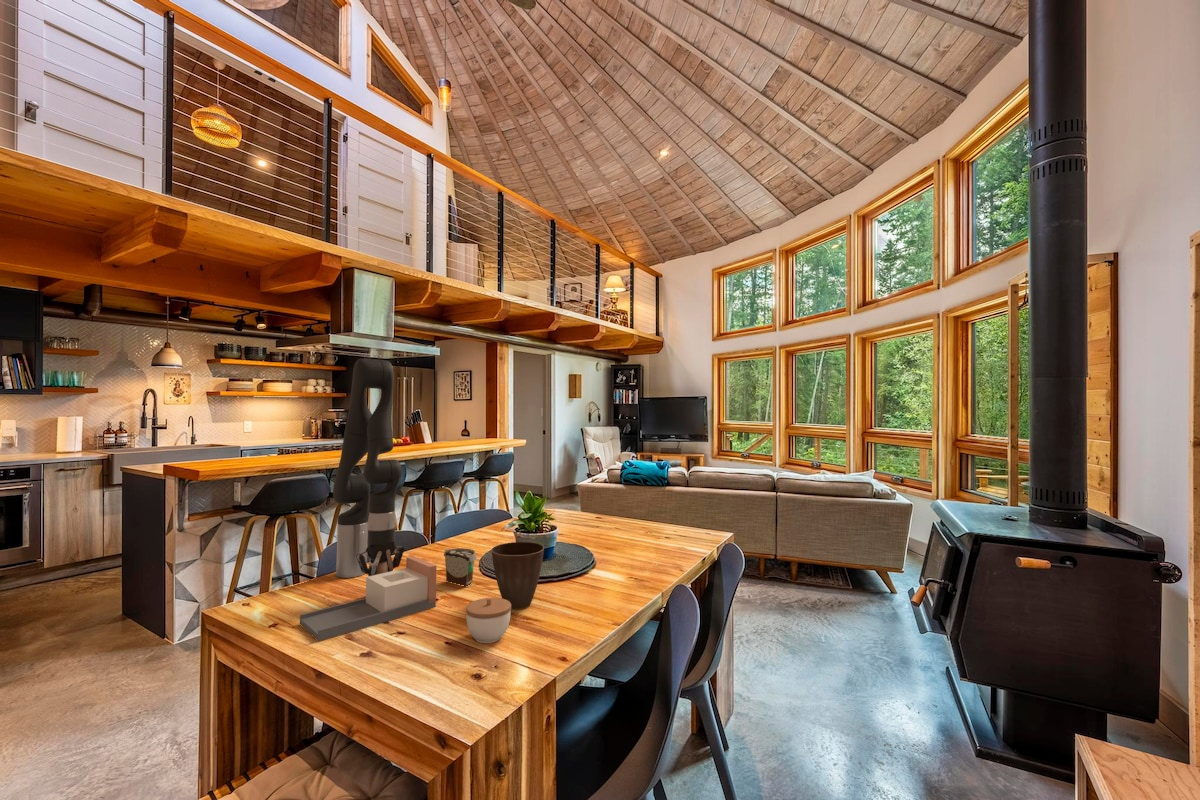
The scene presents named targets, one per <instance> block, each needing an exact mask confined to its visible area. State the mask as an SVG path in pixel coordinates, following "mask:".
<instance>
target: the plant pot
mask: <svg viewBox="0 0 1200 800" xmlns="http://www.w3.org/2000/svg"><path fill="white" fill-rule="evenodd" d="M544 552H545V546H544V545H542V544H540V543H537V542H530V541H514V542H513V541H512V542H506V543H501V544H498V545H495V546H493V547H492V548H491V559H492V564H493V570H494V571H493V572H494V574H495V579H496V583H497V588H498V590H499V591H498V592H499V594H500V596H501V599H505V600H508V601H509V602H510V603H511V610H522V608H523V609H526V608H528V607H530V606H531V605H532V602H533V600H534V599H533V598H534V596H535V593H536V591H537V588H538V583H539V580H540V576H541V571H542V565H543V558H544Z"/></svg>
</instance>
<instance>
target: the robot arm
mask: <svg viewBox="0 0 1200 800" xmlns="http://www.w3.org/2000/svg"><path fill="white" fill-rule="evenodd" d="M352 370H353V371H352V382H351V390H350V391H351V392H350V401H349V406H348V407H349V408H348V413H347V418H346V423H345V427H344V433H343V440H342V448H341V454H340V460H339V463H338V467H337V471H336V475H335V478H334V481H333V482H334V483H333V488H332V497H333V499H334V502H335V503H336V504H351V503H353V504H354V503H355V504H354V505H353V506H352V507H351V508H350V509H348V510H346V511H344V512H342V513H340V514H339V515H338V516H337V527H336V528H337V531H336V534H337V535H336V565H335V567H336V568H335V570H336V571H335V576H336V577H338V578H346V579H348V578H357V577H360V576H363V575H368V576H373V575H376V574H375V571H376V567H377V566H378V563H379V562H381V561H388V572H391V571H394V570H395V569H396V568H399V567H400V565H401V561H402V558H403V555H404V552H405V547H403V546H401V545H398V546H397V545H396V543H395V541H396V524H397V523H396V514H395V513H396V512H395V511H396V509H395V505H396V494H397V490H398V487H399V484H400V481H401V478H402V474H403V467H402V464H401V462H400V461H399V460H398V459H378V457H379V456H380V455H383V454H387V453H390V452H391V451H393V449H394V437H393V427H392V422H393V421H392V415H393V414H392V413H393V412H392V411H393V400H394V399H393V397H394V382H395V381H394V379H395V376H394V374H395V373H394V368H393V365H392V363H391V362H390V361H389V360H385V359H375V358H374V359H373V358H372V359H371V358H358V359H357V360H356V361H355V363H354V366H353V369H352ZM366 389H378V390H380V400H379V402H378V404H377V405H376V408H375V410H374V411H373V413H372V412H371V410H370V408H369V405H368V404H367V402H366V399H365V392H366ZM365 456H366V458H365V459H366V460H365V464H364V467H363V473H362V474H352V473H353V470H354V469H355V467H356V466H357V465H358V463H359V462H360V461H361V460H362V459H363V458H364V457H365ZM380 484H382V485H383V484H385V486H384V488H382V489H381V490H376V491H374V492H372V493H371V485H380ZM393 554H394V555H393ZM392 555H393V557H392ZM368 557H369V560H368ZM392 558H393V559H392ZM368 561H369V562H368ZM367 563H368V565H367ZM368 576H367V577H368Z"/></svg>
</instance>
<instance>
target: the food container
mask: <svg viewBox="0 0 1200 800" xmlns="http://www.w3.org/2000/svg"><path fill="white" fill-rule="evenodd" d="M475 551H476V550H474V549H471V548H463V547H461V548H458V547H457V548H450V549H449V548H448V549H445V550H444V553H443V557H444V560H445V564H444V565H445V582H446V581H448V582H447V583H449V582H452V583H456V584H460V585H464V586H468V585H470V584H471V583H472V584H473V577H474V576H473V575H474V568H475V567H474V566H475V561H477V554H476V552H475ZM452 583H451V584H452ZM456 584H455V585H456ZM472 584H471V585H472ZM471 585H470V586H471Z"/></svg>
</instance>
